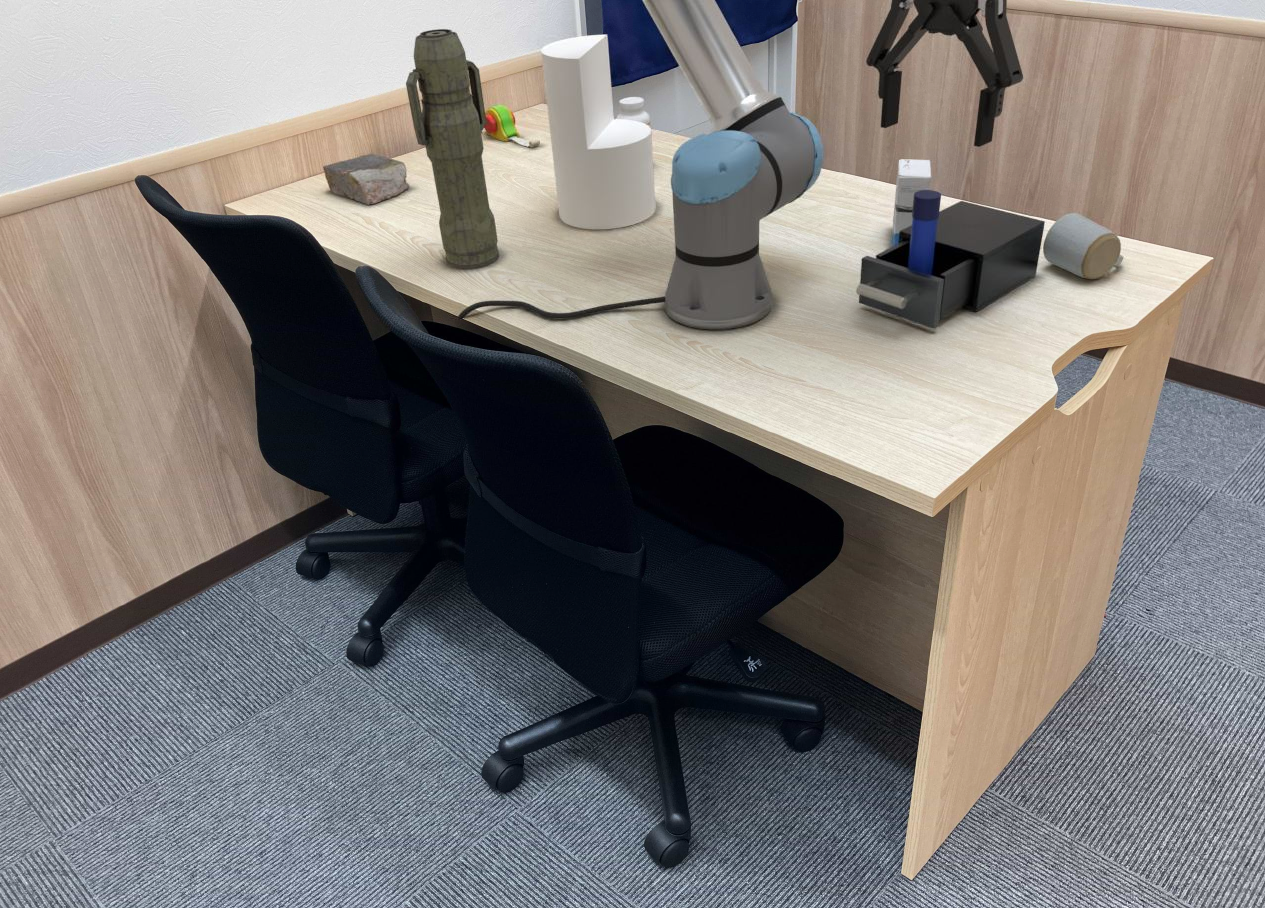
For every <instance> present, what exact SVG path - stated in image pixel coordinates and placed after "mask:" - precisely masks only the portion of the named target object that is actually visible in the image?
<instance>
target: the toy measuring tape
mask: <svg viewBox="0 0 1265 908" xmlns="http://www.w3.org/2000/svg"><path fill="white" fill-rule="evenodd" d="M485 115H486V121H487V123H486V125H485V127H484V130H485V133H486V135H488V136H490V137H493V139H497V140H500V141H503V142H509V141H513V142H515V143H517V144H518V145H519V146H522V147H527V148H531V149H532V148H535V147H539V145H540V144H541V141H540V140H539V138H538V139H537V138H536V139H533V140H527V139H524V138H522V137H520V133H519V131H518V129H517V128H516V117H515V114H514V113H513V112H512V111H511V110H510V109H509V108H508V107H507V106H505V105H502V104H498V105H494V106H490V107H489V108H488V109H487V110H485Z"/></svg>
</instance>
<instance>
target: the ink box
mask: <svg viewBox="0 0 1265 908" xmlns="http://www.w3.org/2000/svg"><path fill="white" fill-rule="evenodd" d="M931 167H932V166H931V160H930V159H912V158H911V159H908V158H901V159H899V160H898V166H897V173H896V174H897V175H896V185H895V195H894V205H893V218H892V231H891V232H892V247H893V246H895V245H897V244H898V241H899V231H901V230H903V229H905V228H907V227H909V226H911V225H912V219H913V217H912V210H913V200H914V193H915V192H917V191H921V190H931V187H932V186H931V184H932V170H931Z"/></svg>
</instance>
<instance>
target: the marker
mask: <svg viewBox="0 0 1265 908" xmlns="http://www.w3.org/2000/svg"><path fill="white" fill-rule="evenodd" d="M941 200H942V193H940V192H939V191H936V190H933V189H930V190H921V191H917V192H915V193H914V200H913V210H912V217H913V219H912V229H911V240H910V250H909V261H908V268H909V269H912V270H915V271H919V272H922V273H925V274H928V275H932V267H933V258H934V248H935V239H936V230H937V221H938V218H939V212H940V211H941Z"/></svg>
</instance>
